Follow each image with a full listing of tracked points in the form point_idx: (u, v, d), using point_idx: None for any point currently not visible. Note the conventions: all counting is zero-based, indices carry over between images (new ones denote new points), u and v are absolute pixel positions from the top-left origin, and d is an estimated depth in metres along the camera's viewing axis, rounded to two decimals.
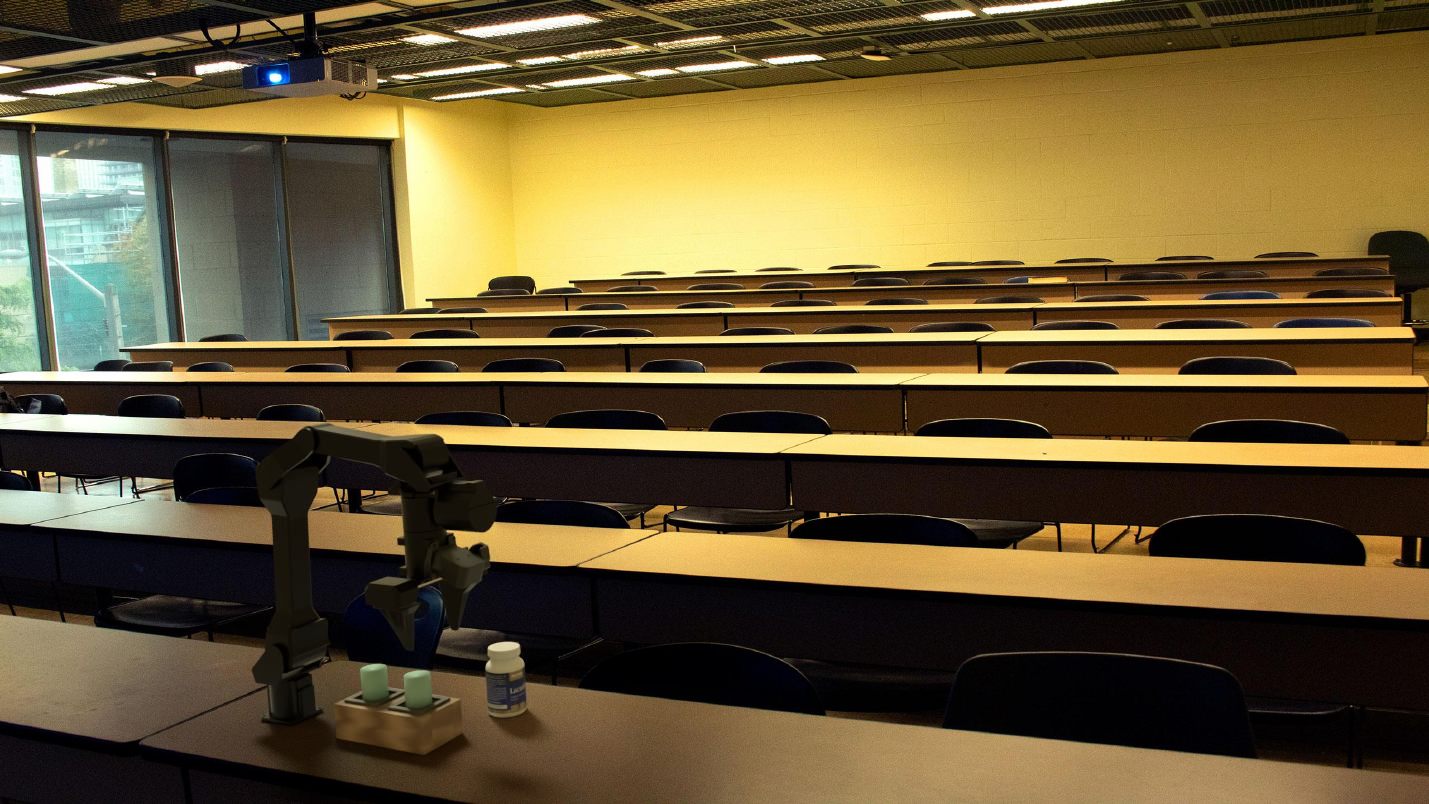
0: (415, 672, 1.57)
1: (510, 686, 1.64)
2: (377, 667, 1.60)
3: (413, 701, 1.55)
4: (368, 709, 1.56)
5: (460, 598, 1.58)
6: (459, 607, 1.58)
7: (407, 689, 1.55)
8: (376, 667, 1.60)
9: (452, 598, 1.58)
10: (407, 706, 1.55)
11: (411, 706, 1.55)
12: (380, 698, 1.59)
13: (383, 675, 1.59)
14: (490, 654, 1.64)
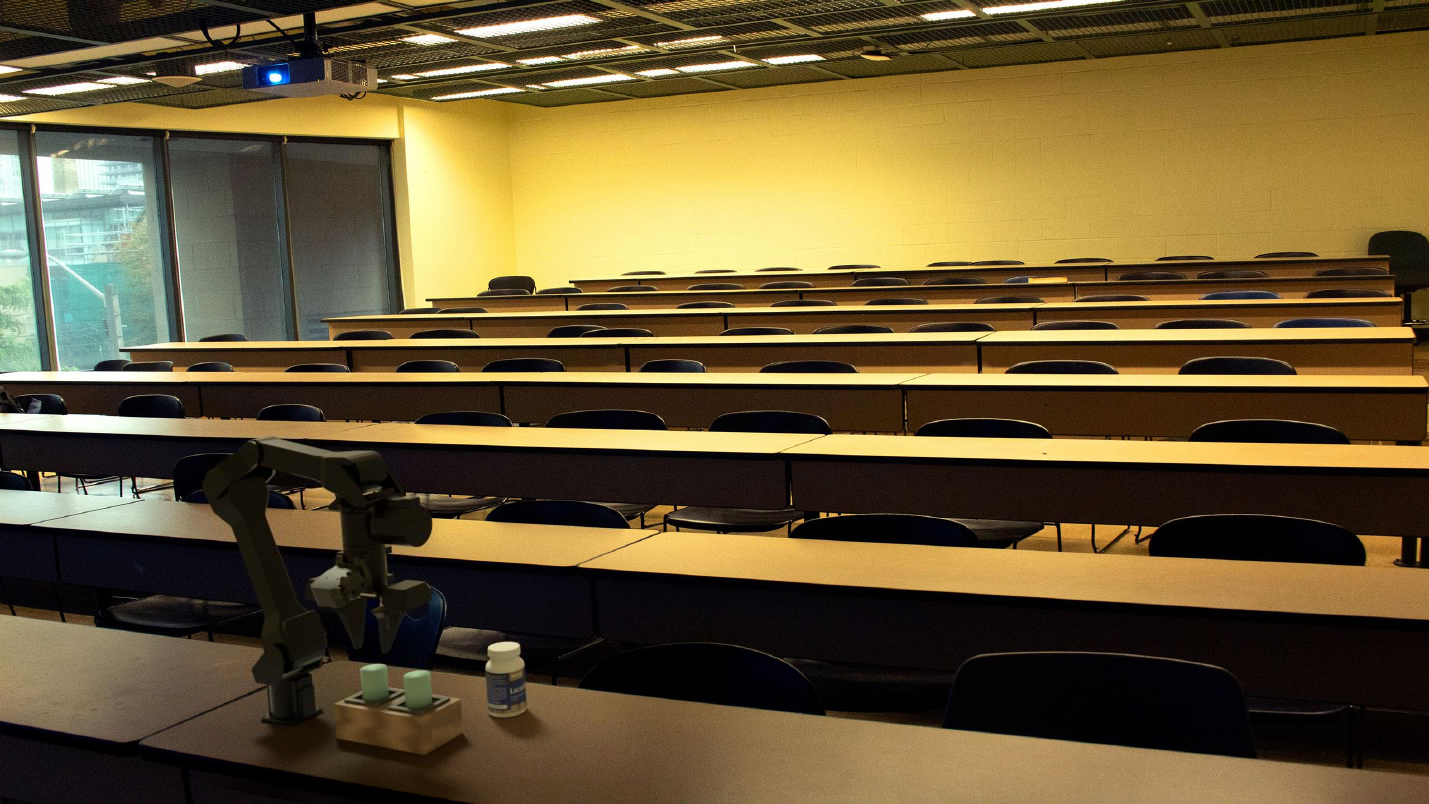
0: (415, 672, 1.57)
1: (510, 686, 1.64)
2: (377, 667, 1.60)
3: (413, 701, 1.55)
4: (368, 709, 1.56)
5: None
6: (379, 631, 1.57)
7: (407, 689, 1.55)
8: (376, 667, 1.60)
9: None
10: (407, 706, 1.55)
11: (411, 706, 1.55)
12: (380, 698, 1.59)
13: (383, 675, 1.59)
14: (490, 654, 1.64)
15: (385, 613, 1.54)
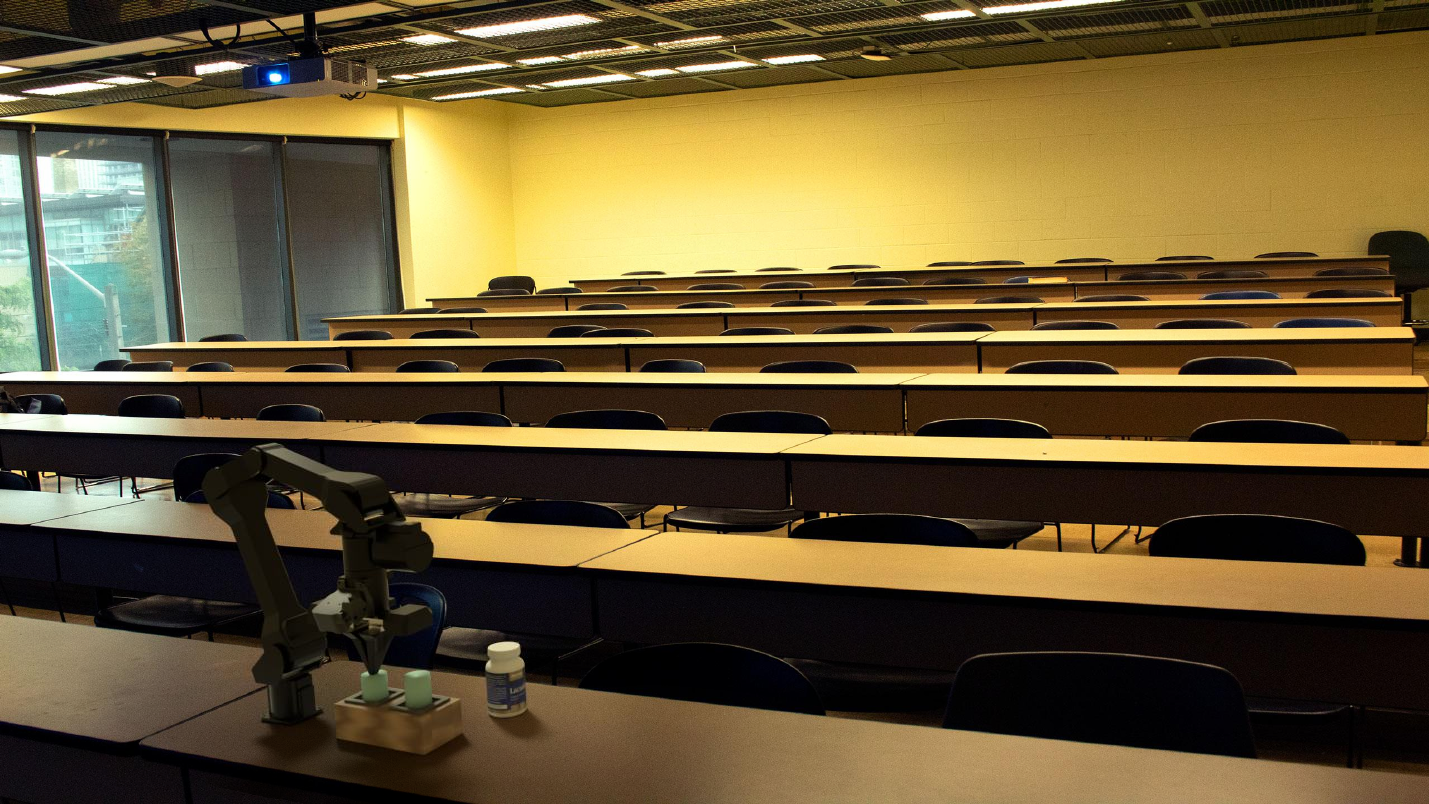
0: (415, 672, 1.57)
1: (510, 686, 1.64)
2: (378, 673, 1.60)
3: (413, 701, 1.55)
4: (368, 709, 1.56)
5: None
6: (367, 654, 1.59)
7: (407, 689, 1.55)
8: None
9: None
10: (407, 706, 1.55)
11: (411, 706, 1.55)
12: None
13: (384, 681, 1.59)
14: (490, 654, 1.64)
15: (373, 636, 1.56)
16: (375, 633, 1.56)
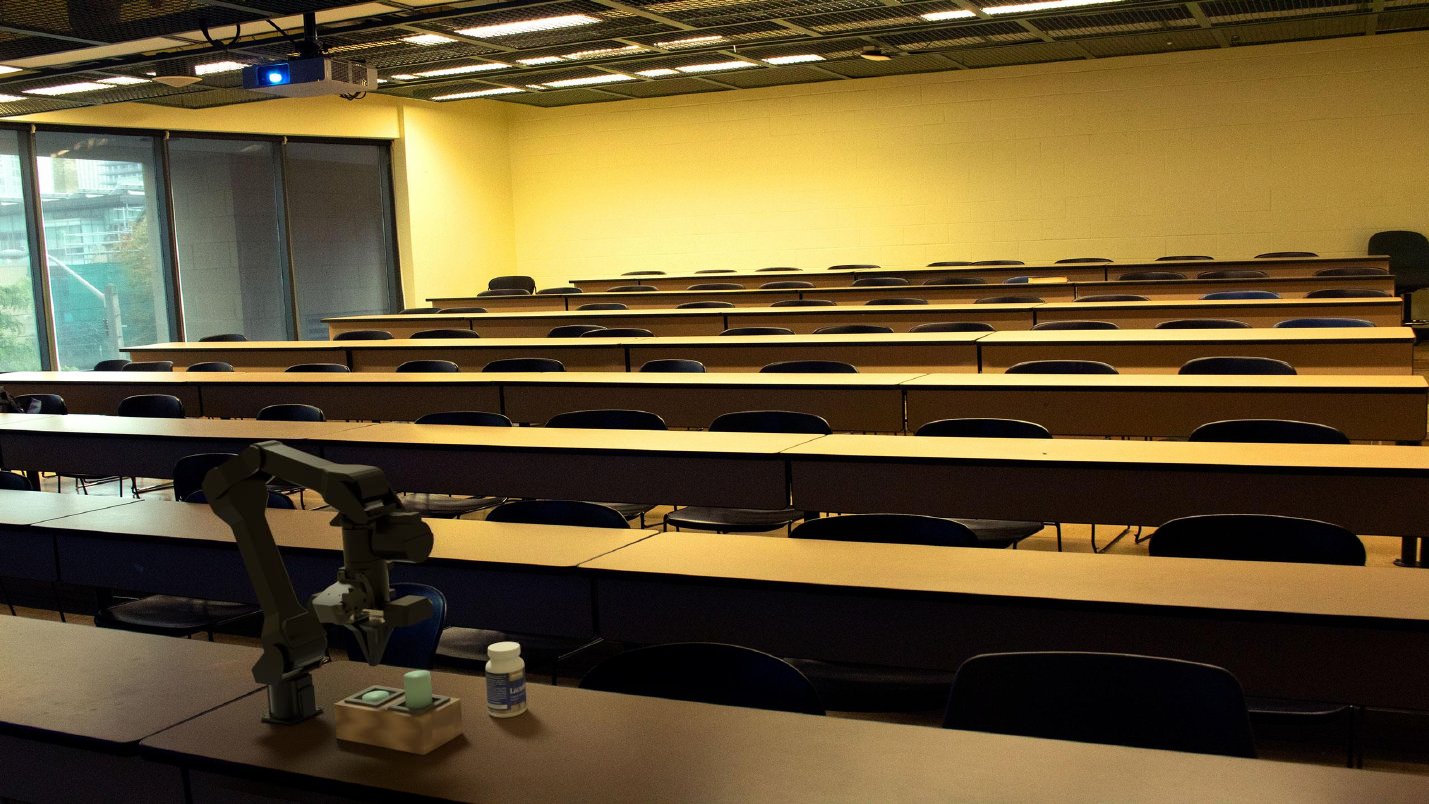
0: (415, 672, 1.57)
1: (510, 686, 1.64)
2: (379, 694, 1.61)
3: (413, 701, 1.55)
4: (368, 709, 1.56)
5: None
6: (368, 645, 1.58)
7: (407, 689, 1.55)
8: (378, 695, 1.60)
9: None
10: (407, 706, 1.55)
11: (411, 706, 1.55)
12: None
13: None
14: (490, 654, 1.64)
15: (374, 627, 1.55)
16: (375, 624, 1.56)
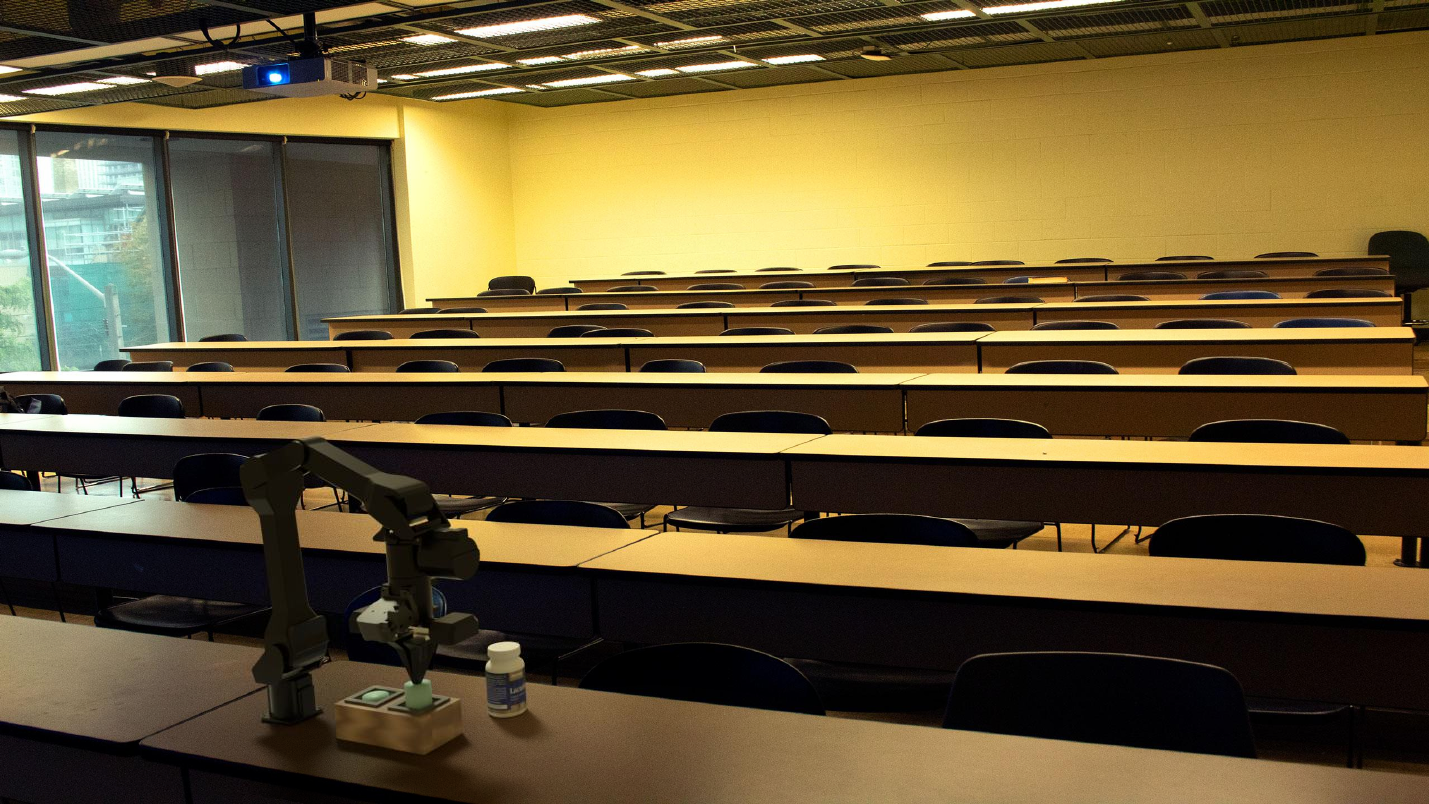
0: None
1: (510, 686, 1.64)
2: (379, 694, 1.61)
3: None
4: (368, 709, 1.56)
5: None
6: (411, 663, 1.55)
7: (408, 698, 1.55)
8: (378, 695, 1.60)
9: None
10: None
11: None
12: None
13: None
14: (490, 654, 1.64)
15: (418, 645, 1.52)
16: (420, 642, 1.52)
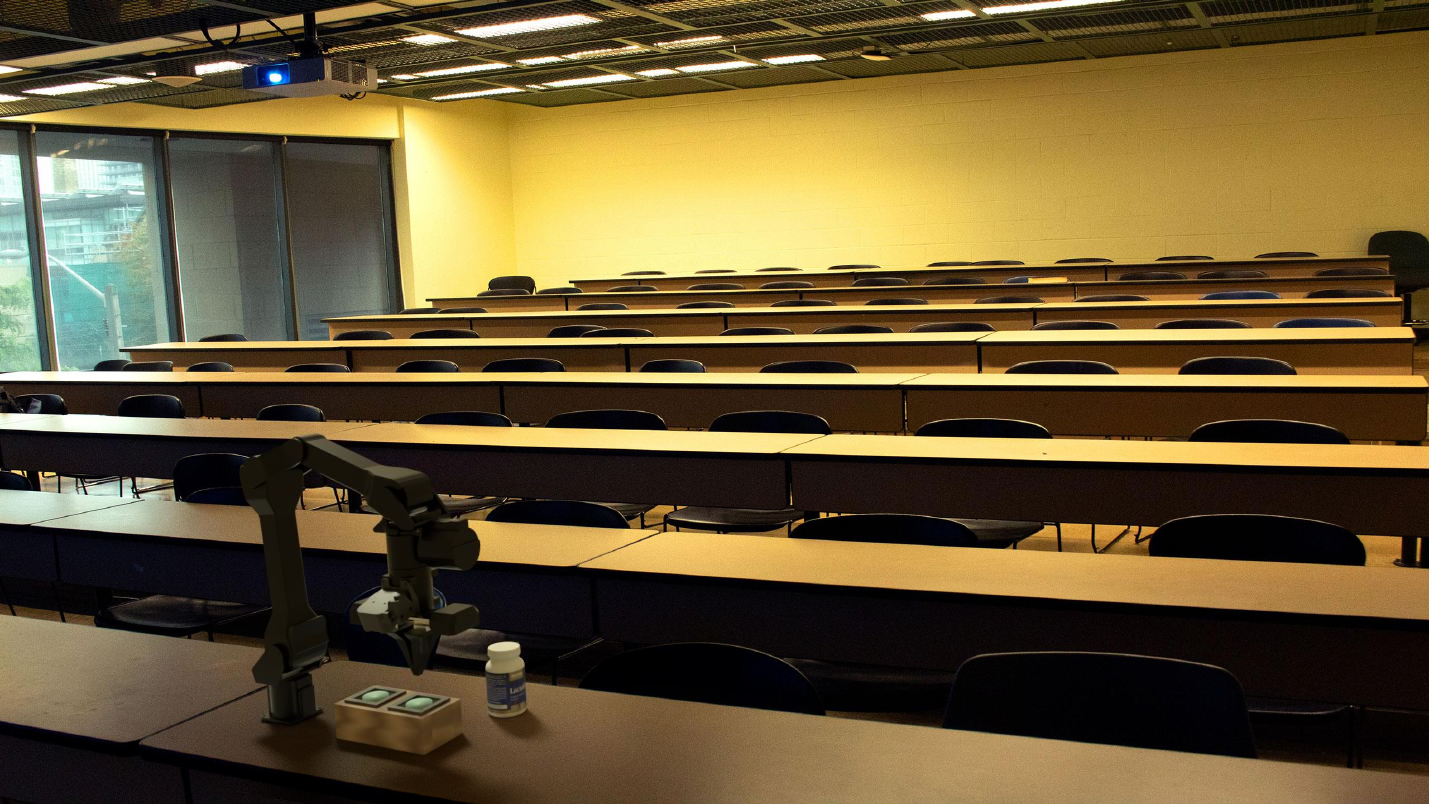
0: (417, 700, 1.58)
1: (510, 686, 1.64)
2: (379, 694, 1.61)
3: None
4: (368, 709, 1.56)
5: None
6: (412, 654, 1.55)
7: None
8: (378, 695, 1.60)
9: None
10: None
11: None
12: None
13: None
14: (490, 654, 1.64)
15: (419, 636, 1.52)
16: (420, 633, 1.52)
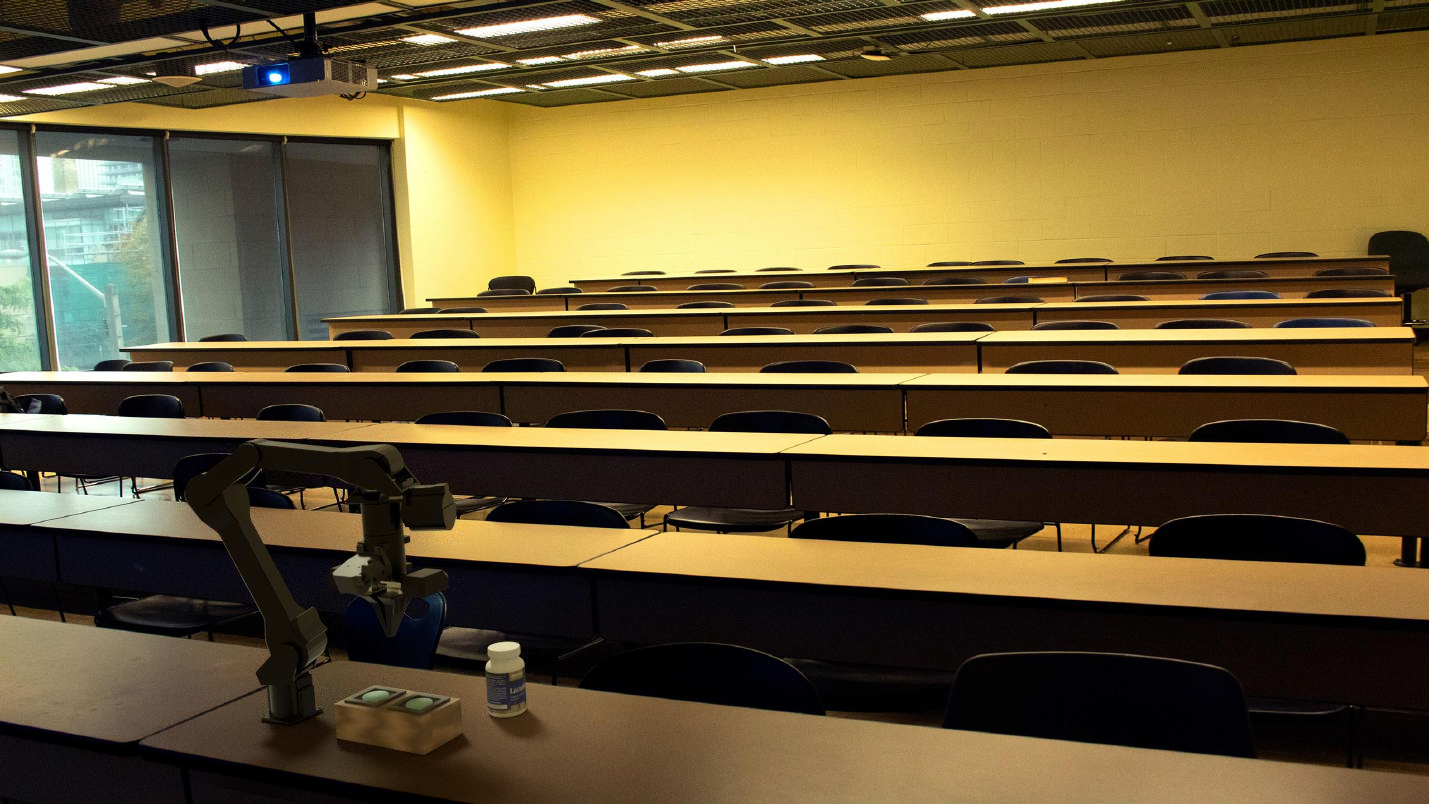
0: (417, 700, 1.58)
1: (510, 686, 1.64)
2: (379, 694, 1.61)
3: None
4: (368, 709, 1.56)
5: None
6: (385, 616, 1.65)
7: None
8: (378, 695, 1.60)
9: None
10: None
11: None
12: None
13: None
14: (490, 654, 1.64)
15: (391, 598, 1.61)
16: (393, 596, 1.62)
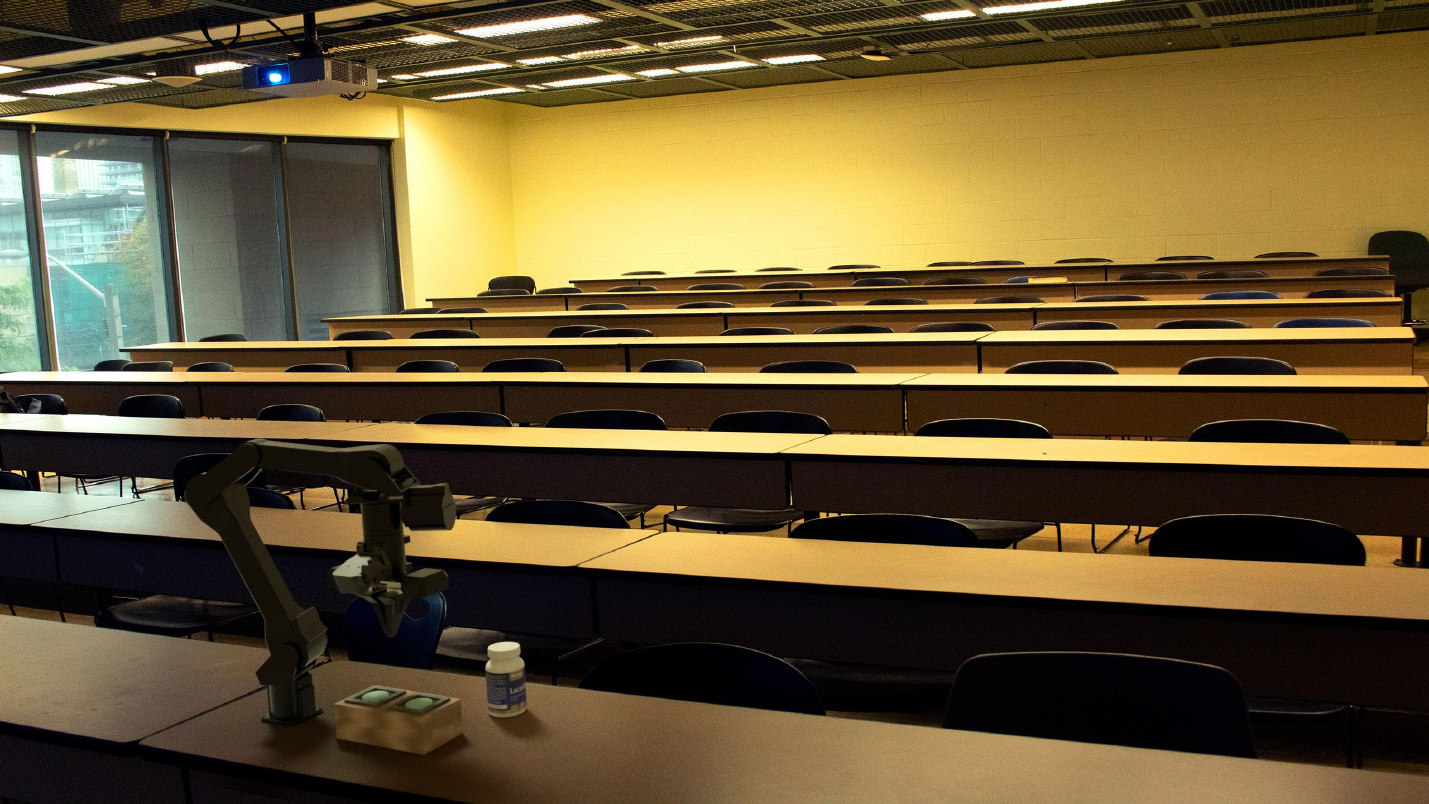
0: (417, 700, 1.58)
1: (510, 686, 1.64)
2: (379, 694, 1.61)
3: None
4: (368, 709, 1.56)
5: None
6: (385, 616, 1.65)
7: None
8: (378, 695, 1.60)
9: None
10: None
11: None
12: None
13: None
14: (490, 654, 1.64)
15: (391, 598, 1.61)
16: (393, 595, 1.62)
